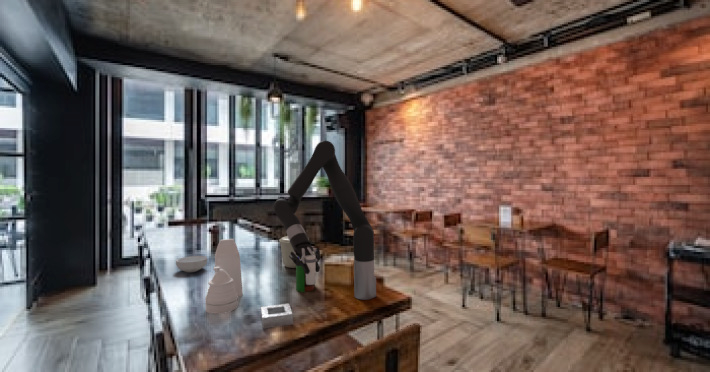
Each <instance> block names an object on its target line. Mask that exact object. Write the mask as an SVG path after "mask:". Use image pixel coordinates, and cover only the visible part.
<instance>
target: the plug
mask: <svg viewBox="0 0 710 372" xmlns="http://www.w3.org/2000/svg"><path fill="white" fill-rule="evenodd" d="M305 261H306V264H307V266H308V268H309V270H310V272H309V274H306V284H307V285H313V284H315V285H316V284H317V274H316V273H317V272H316V258H315V254H314V255H307V256H305Z"/></svg>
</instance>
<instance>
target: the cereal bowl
mask: <svg viewBox="0 0 710 372" xmlns="http://www.w3.org/2000/svg"><path fill="white" fill-rule="evenodd" d="M175 262H176V263H175V265H176V267H177V269H179V271H184V272H185V273H195V272H198V271H200V270H202V269H203V268H205V267H206V266H207V263H208V257H207V256H204V255H193V256H185V257H181V258H178V259H175Z"/></svg>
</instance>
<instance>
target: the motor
mask: <svg viewBox="0 0 710 372" xmlns="http://www.w3.org/2000/svg"><path fill="white" fill-rule="evenodd" d="M297 257H298V256H297ZM298 258H299V257H298ZM315 286H316V284H313V285H307V284H306V273H305V272H304V270H303V268H302V267H301V266H296V268H295V290H296V291H297V292H301V293H305V292H311V291H313V290H315Z"/></svg>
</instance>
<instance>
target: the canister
mask: <svg viewBox="0 0 710 372" xmlns="http://www.w3.org/2000/svg"><path fill="white" fill-rule="evenodd" d="M308 239H309V240H310V237H308ZM278 241H279V244H280V252H281V259H282V264H283V266H284V267H286V268H290V269H296V264H295V263H294V262H293V261H292V260H291V258H290V257H289V255H290V253H291V252H294V250H293V248H292V246H291V243H290V241H289V239H288V236H287V235H286V236H282V237H281V238H279V240H278ZM296 256H297V255H296Z"/></svg>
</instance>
